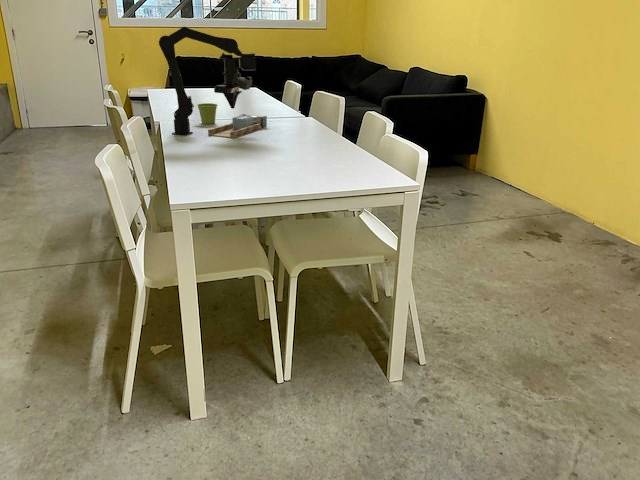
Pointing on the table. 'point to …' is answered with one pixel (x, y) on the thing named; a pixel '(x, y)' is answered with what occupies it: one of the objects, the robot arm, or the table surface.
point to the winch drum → (259, 120)
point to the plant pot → (207, 112)
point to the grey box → (242, 121)
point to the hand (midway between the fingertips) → (232, 108)
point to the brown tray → (232, 130)
